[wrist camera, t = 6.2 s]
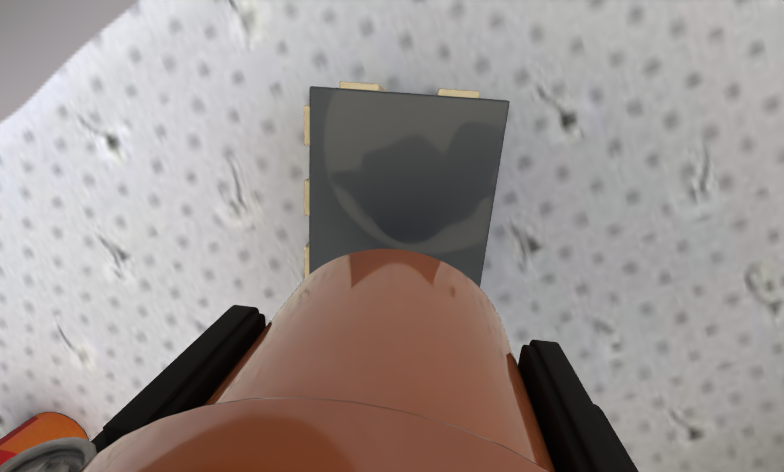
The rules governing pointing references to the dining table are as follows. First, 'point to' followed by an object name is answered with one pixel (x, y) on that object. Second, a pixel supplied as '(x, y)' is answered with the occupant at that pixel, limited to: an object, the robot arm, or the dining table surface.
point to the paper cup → (38, 433)
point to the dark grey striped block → (401, 173)
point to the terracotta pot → (359, 384)
